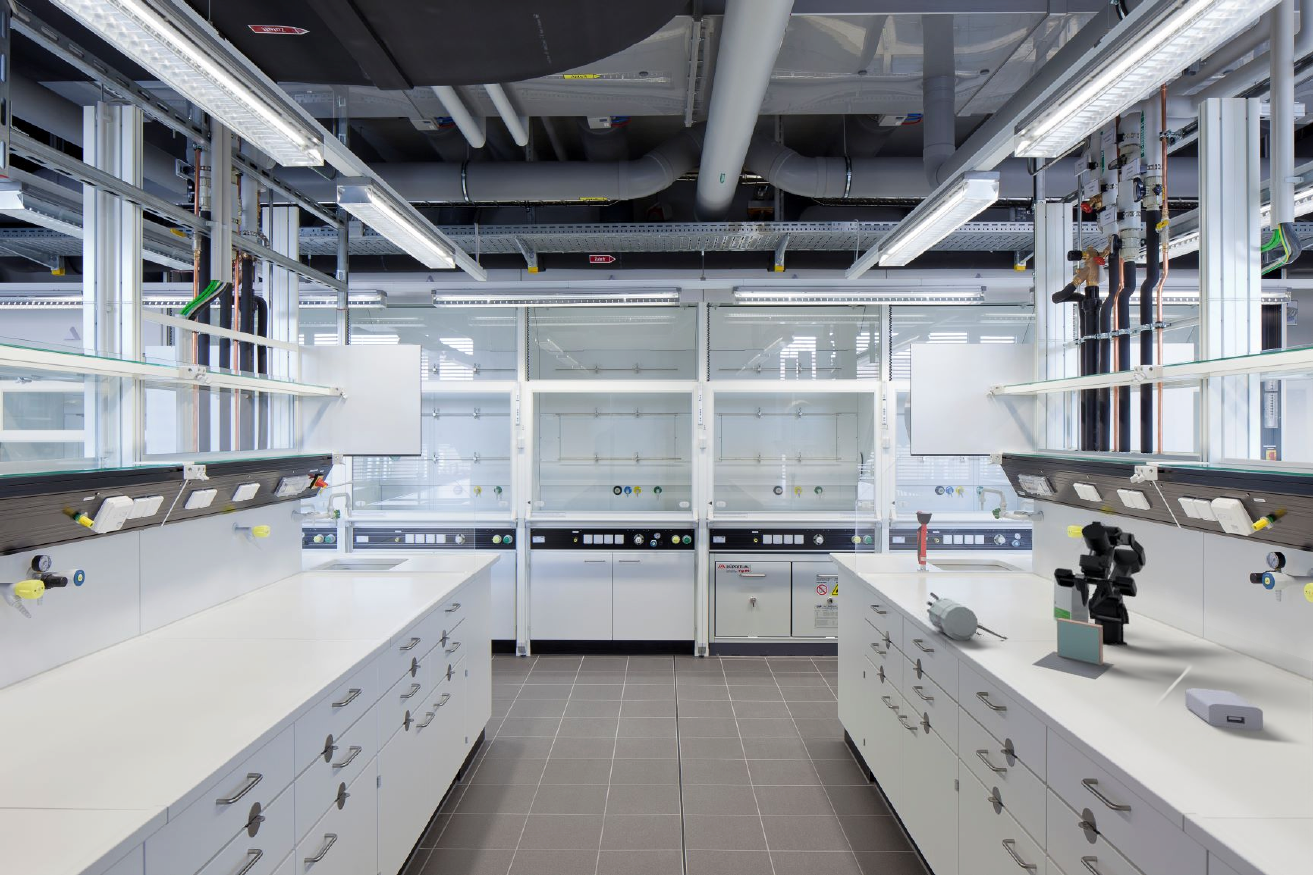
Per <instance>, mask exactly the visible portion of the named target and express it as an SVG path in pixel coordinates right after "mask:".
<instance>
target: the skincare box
mask: <svg viewBox="0 0 1313 875" xmlns="http://www.w3.org/2000/svg"><path fill="white" fill-rule="evenodd" d="M1073 574H1074V575H1075V573H1074V572H1073ZM1053 577H1054V581H1053V584H1054V585H1053V616H1052V617H1053V619H1054V620H1056V621H1057V619H1058V618H1063V619H1069V620H1074V621H1080V622H1085V623H1089V618H1090V614H1089V607H1088V603H1089V599H1090V595H1089V596H1088V600H1087V604H1086V606H1085V607H1084V606H1083V603H1082V597H1081V592H1080V591H1078V590H1077V589H1076V586H1073V587H1071V588H1069V587H1062V586H1059V585H1058V583H1057V581H1056V578H1055V576H1053ZM1087 586H1088V589H1089V590H1090V584H1088V585H1087Z"/></svg>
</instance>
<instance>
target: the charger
mask: <svg viewBox="0 0 1313 875" xmlns="http://www.w3.org/2000/svg"><path fill="white" fill-rule="evenodd" d="M1185 707H1186V708H1188V709H1189V710H1190V711H1192V712H1193V713H1194V714H1196V715H1197V716H1198V717H1200V718H1201V719H1203V721H1205V722H1207V723H1208V724H1210V726H1214V727H1224V728H1232V729H1235V728H1236V729H1245V730H1246V729H1247V730H1255V731H1260V730H1263V729H1264V715H1263V714H1264V712H1263V710H1262V709H1261V708H1259V707H1257V706H1255V705H1254V704H1252V703H1251V702H1249V701H1248V700H1246V699H1244V698H1243V697H1240V696H1239V695H1238V694H1235V693H1234V692H1232V691H1227V690H1216V689H1207V688H1197V687H1196V688H1195V687H1193V688H1188V689H1186V690H1185Z"/></svg>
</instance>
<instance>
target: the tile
mask: <svg viewBox="0 0 1313 875" xmlns="http://www.w3.org/2000/svg"><path fill="white" fill-rule="evenodd" d="M1056 644H1057V645H1056V652H1057V656H1060V657H1065V658H1069V659H1074V660H1078V661H1083V662H1087V663H1092V664H1096V665H1102V664H1103V662H1104V644H1103V626H1102V625H1096V624H1095V623H1090V622H1088V623H1085V622H1080V621H1074V620H1069V619H1063V618H1058V619H1057V620H1056Z"/></svg>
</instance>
